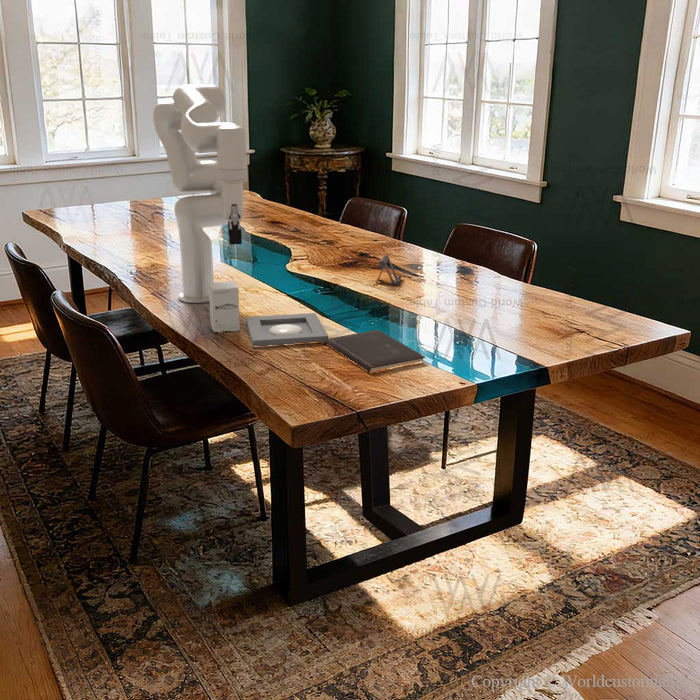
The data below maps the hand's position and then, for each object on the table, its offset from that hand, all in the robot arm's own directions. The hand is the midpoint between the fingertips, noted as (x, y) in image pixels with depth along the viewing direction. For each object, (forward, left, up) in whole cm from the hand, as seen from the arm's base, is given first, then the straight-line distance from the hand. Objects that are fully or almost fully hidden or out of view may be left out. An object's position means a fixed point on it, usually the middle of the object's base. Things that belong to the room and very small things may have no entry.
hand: (235, 239), depth 212 cm
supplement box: (-1, -4, -25) cm, 26 cm away
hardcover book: (+26, +32, -26) cm, 49 cm away
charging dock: (+6, +12, -25) cm, 29 cm away
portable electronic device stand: (-39, +53, -25) cm, 71 cm away
